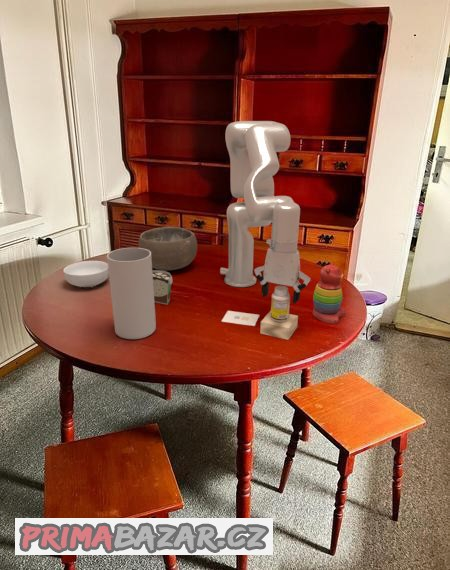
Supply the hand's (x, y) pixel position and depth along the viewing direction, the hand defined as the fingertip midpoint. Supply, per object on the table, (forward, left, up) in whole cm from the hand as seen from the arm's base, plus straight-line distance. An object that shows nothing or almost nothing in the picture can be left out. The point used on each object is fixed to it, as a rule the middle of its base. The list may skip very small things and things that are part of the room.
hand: (280, 298), depth 131 cm
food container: (-46, +3, -11) cm, 47 cm away
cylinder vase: (-40, -20, -11) cm, 46 cm away
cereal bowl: (-79, +2, -11) cm, 79 cm away
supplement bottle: (0, 0, -7) cm, 7 cm away
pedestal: (0, 0, -11) cm, 11 cm away
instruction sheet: (-14, +2, -11) cm, 17 cm away
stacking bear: (+11, +17, -11) cm, 23 cm away
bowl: (-61, +32, -11) cm, 69 cm away
